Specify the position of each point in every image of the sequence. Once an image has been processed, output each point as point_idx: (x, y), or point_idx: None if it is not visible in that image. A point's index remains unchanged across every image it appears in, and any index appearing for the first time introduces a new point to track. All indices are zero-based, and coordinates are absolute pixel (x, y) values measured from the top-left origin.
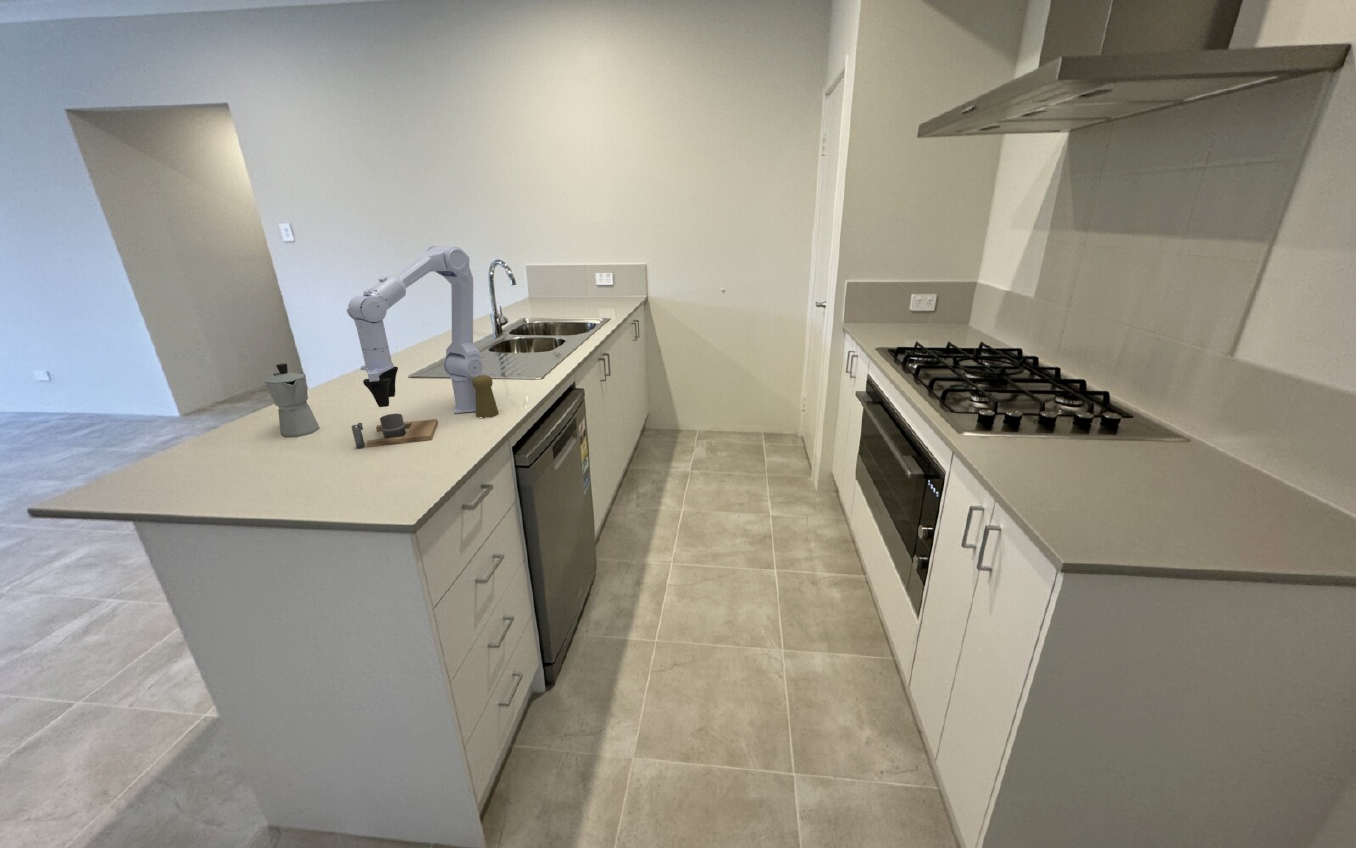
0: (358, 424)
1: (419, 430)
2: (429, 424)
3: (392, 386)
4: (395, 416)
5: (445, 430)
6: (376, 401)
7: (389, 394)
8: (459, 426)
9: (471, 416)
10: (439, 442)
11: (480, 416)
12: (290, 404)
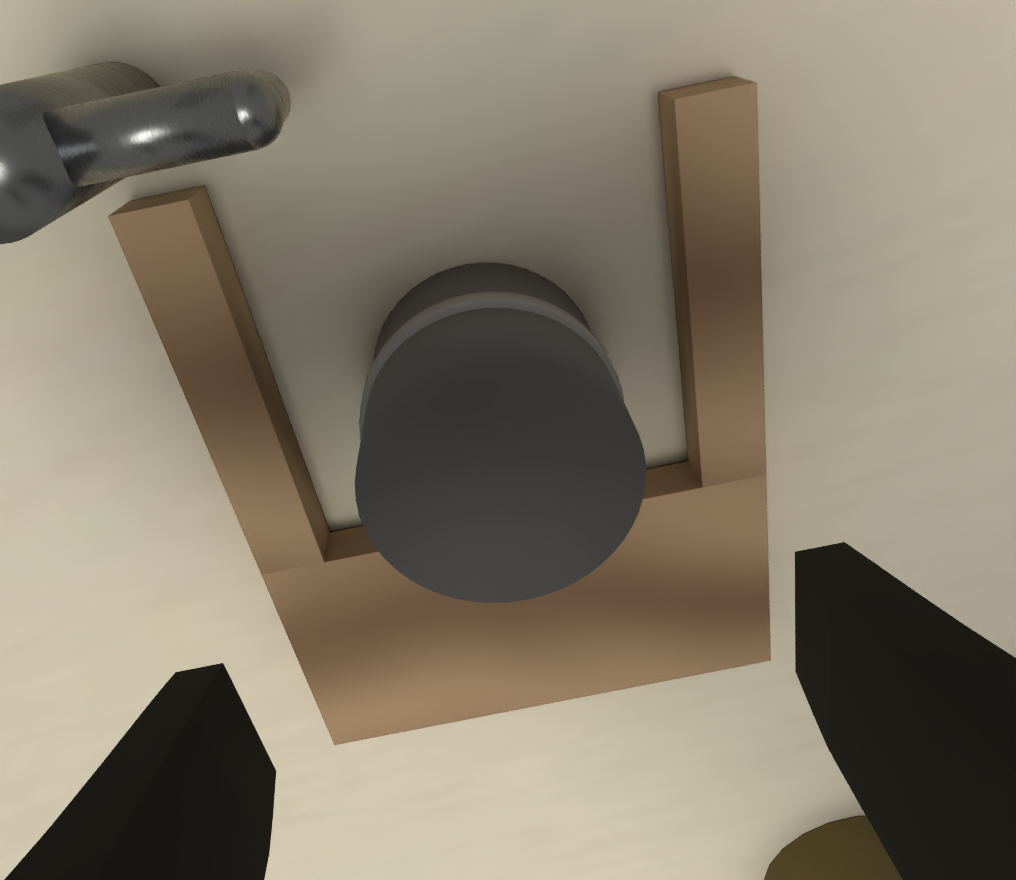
0: (142, 143)
1: (472, 624)
2: (626, 650)
3: (906, 861)
4: (522, 533)
5: (553, 730)
6: (98, 772)
7: (820, 651)
8: (626, 788)
9: (841, 797)
10: (285, 769)
11: (784, 867)
12: None
